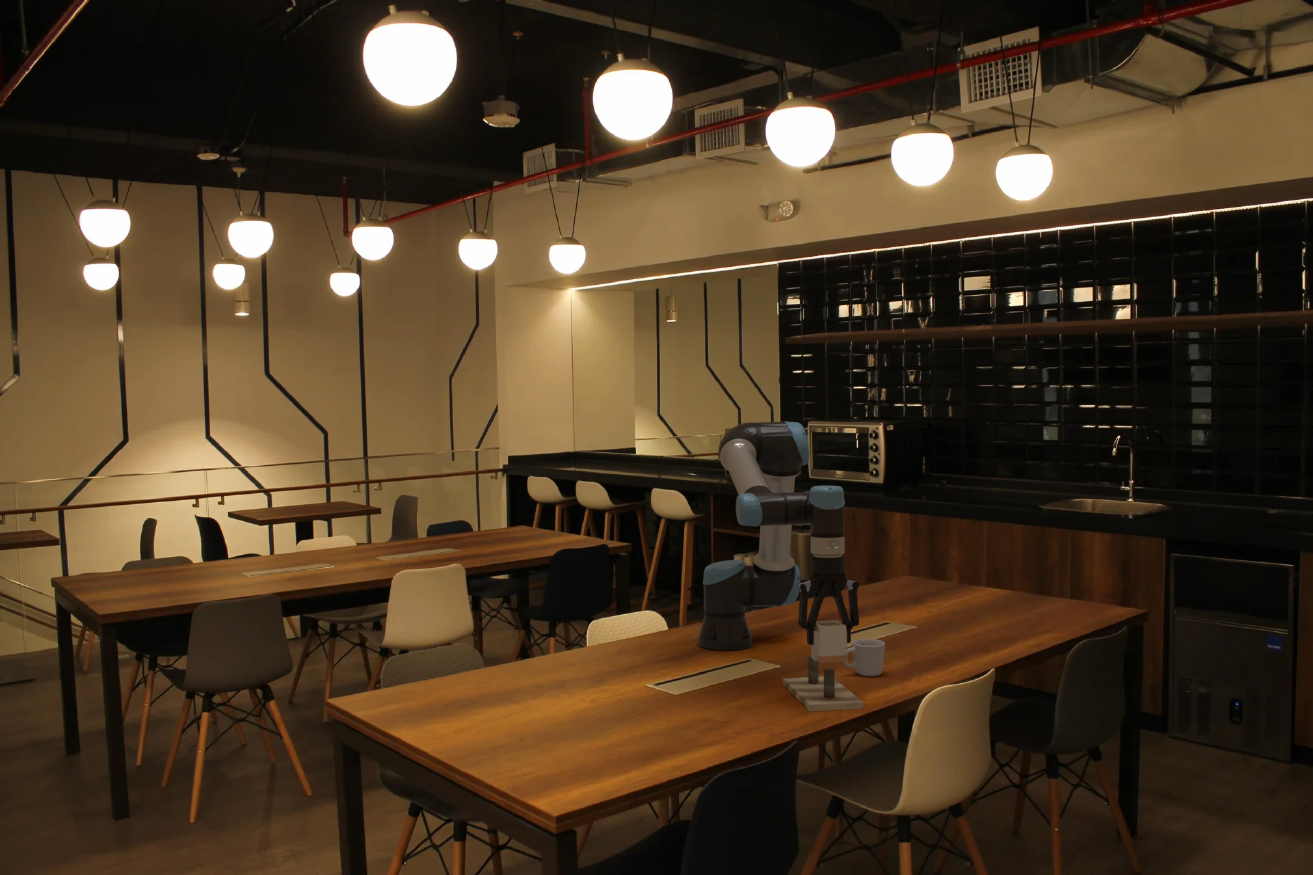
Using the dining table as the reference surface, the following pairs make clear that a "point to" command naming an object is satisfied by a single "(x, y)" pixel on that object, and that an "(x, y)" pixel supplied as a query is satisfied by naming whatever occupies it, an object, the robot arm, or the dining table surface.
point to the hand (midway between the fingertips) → (829, 658)
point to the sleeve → (831, 641)
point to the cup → (867, 656)
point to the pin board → (821, 690)
